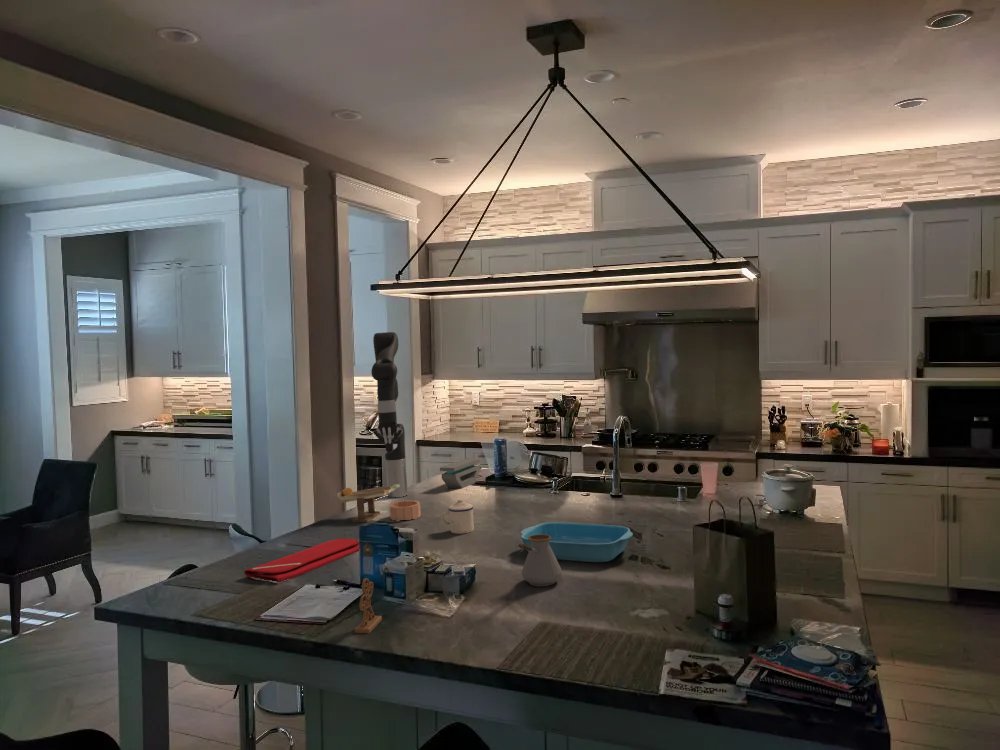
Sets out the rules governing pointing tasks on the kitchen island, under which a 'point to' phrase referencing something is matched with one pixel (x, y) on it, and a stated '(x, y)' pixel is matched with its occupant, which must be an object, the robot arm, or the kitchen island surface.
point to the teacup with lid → (460, 517)
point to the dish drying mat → (304, 560)
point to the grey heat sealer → (460, 473)
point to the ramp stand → (368, 514)
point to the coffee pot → (540, 562)
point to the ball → (347, 492)
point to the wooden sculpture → (368, 618)
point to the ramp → (367, 493)
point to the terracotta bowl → (405, 510)
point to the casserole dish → (581, 540)
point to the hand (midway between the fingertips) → (389, 452)
